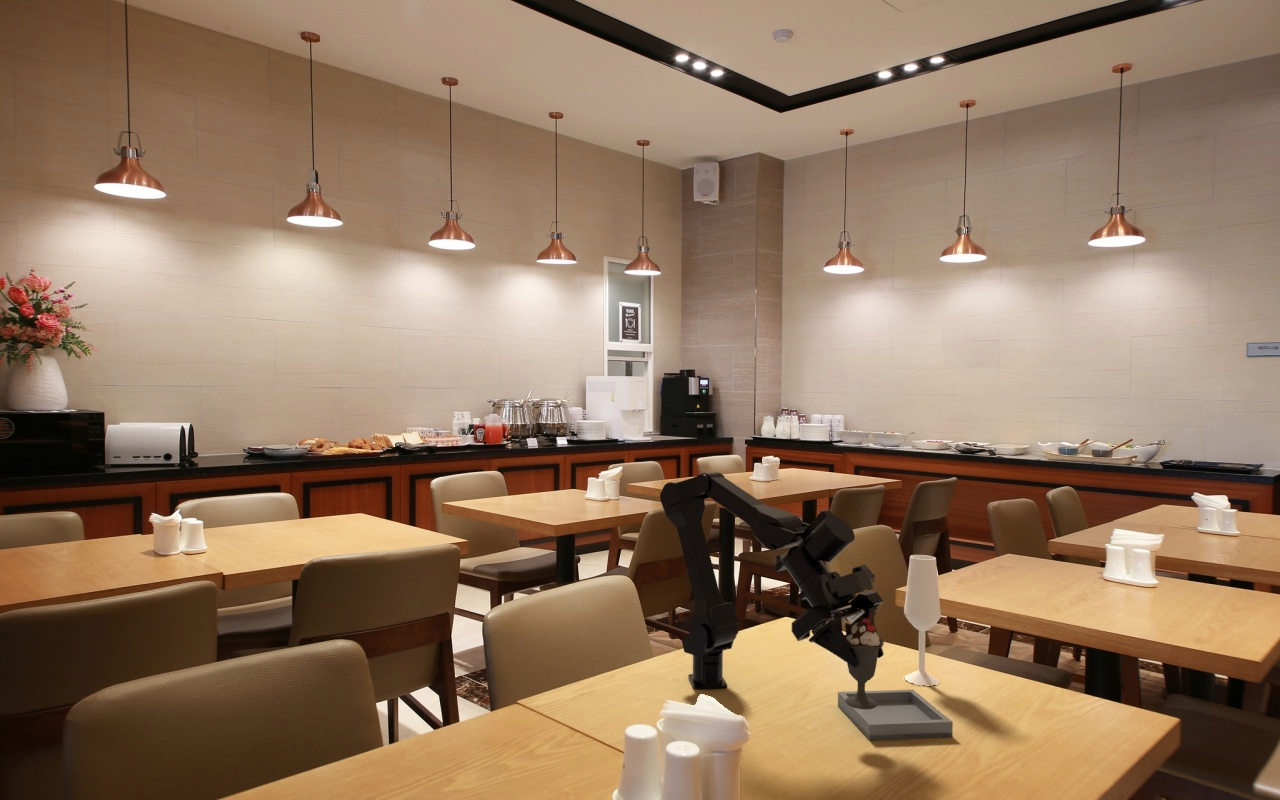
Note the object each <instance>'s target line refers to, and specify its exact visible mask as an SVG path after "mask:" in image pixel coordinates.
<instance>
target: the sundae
mask: <svg viewBox="0 0 1280 800" xmlns="http://www.w3.org/2000/svg"><path fill="white" fill-rule="evenodd" d="M877 613H878V612H877V611H876V612H875V611H873V613H872V614H874V615H877ZM872 614H871V615H872ZM871 615H870V616H871ZM874 615H873V616H874ZM870 616H869V617H870ZM873 616H872V617H873ZM869 617H868V618H869ZM872 617H871V618H872ZM868 618H867V619H863V621H862V622H858V623H856V624H854V625H853V626H852V625H850V623H849V622H845V623H844V626H845V634H844V635H845V637H846V639H847V641H848V642H849V644H850V646H851V647H852V649H853V651H854V653H855V654H856V656H857V658H858V660H859V662H860V664H859V665H858V666H857V667H853V666H852V665H850V664H848V663H847V662H846V663H847V664H846V665H847V670H848V673H849V675H851V677H852V678H853V679H854V680H855V681H856V682H857V694H856V695H855V696H852V697H848V698H846V700H845V702H846V704H847V705H849V706H851V707H854V708H858V709H873V708H875V707H876V706H877V703H876V702H875V701H874V700H872V699H870V698H867V696H866V694H865V691H866V683H867V682H869V681H871V679H872V678H873V677H874V676H875V673H876V669H877V663H878V652H879V648H881V647H882V648H883V646H884V644H885V641H884V639H883V638H880V637H879V635H878V633H877V634H876V632H875V631H874V629H875V628H876V626H875V627H874V626H873V625H871V618H870V621H869V620H868Z"/></svg>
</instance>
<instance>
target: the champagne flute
mask: <svg viewBox="0 0 1280 800" xmlns="http://www.w3.org/2000/svg"><path fill="white" fill-rule="evenodd" d="M937 567H938V566H937V558H936V557H935V556H932V555H926V554H911V555H910V556H909V563H908V573H907V581H906V591H905V600H904V608H903V613H904V616H905V617H906V619H907V621H908V622H909V623H910V624H911V626H913V627H914V629H916V630H917V631H918V670H915V671H913V672H911V673H909V674H907V675H904V677H905V680H907V681H908V682H911V683H914V684H917V685H928V686H929V685H934V684H935V685H936V684H937V683H939V682H940V680H939V679H937V677H934V676H933V675H931V674H930V673H929V672H927V671H926V631H929V630H930V629H931V628H932V627H934V626H935V625H936V624H938V622H939V620H940V618H941V616H942V614H941V603H940V593H939V592H940V590H939V578H938V569H937ZM905 680H904V681H905ZM938 680H939V681H938ZM908 682H907V683H908ZM917 685H916V686H917Z"/></svg>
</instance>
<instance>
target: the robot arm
mask: <svg viewBox="0 0 1280 800" xmlns="http://www.w3.org/2000/svg"><path fill="white" fill-rule="evenodd" d="M659 493H660V494H659V498H660V499H659V500H660V503H661V505H662V509H663V511H664V513H665V516H666V517H667V519H668V520H669V521H670V523H672V524H673V526H674V527H675V528H676V530H677V533H678V539H679V542H680V545H681V546H680V547H681V550H682V554H683V558H684V562H685V566H686V570H687V574H688V578H689V582H690V586H691V590H692V595H693V598H694V604H693V609H692V612H691V616H690V617H691V627H692V630H691V631H689V633H688V634H687V635H686V636H685V637H684V638H683V639H682V640H681V643H682V647H683V648H682V649H683V651H684V653H686V654H689V655H691V656H692V673H690V674H688V676H687V677H688V679H689V682H690V684H691V686H692V688H693V689H695V690H696V689H722V688H725V689H726V688H728V683H727V682H726V680H725V678H724V676H723V675H724V673H723V669H724V668H723V667H724V666H723V665H724V664H723V660H724V658H723V657H724V651H726V650H731V649H732V647H733V645H734V641H735V640H736V637H737V635H738V634H739V625H738V624H740V620H739V618H738V616H737V613H736V606H735V604H734V602H732V601H730V602H727V601H726V600H725V599H724V598H723V597H722V595H721V592H720V590H719V586H718V581H717V579H716V578H717V577H716V574H715V571H714V570H715V569H714V566H713V563H712V558H711V555H710V551H709V547H708V543H707V539H706V534H705V531H704V527H703V517H704V513H705V510H706V505H705V504H706V503H705V500H708V499H712V500H713V501H714V502H715V503H717V504H719V506H721V507H722V508H724V509H726V510H727V512H730V513H731V514H732V515H734V516H736V517H737V518H738V519H739V520H741V521H742V522H744V523H745V524H746V525H748V526H749V528H750V530H751V533H752V535H753V537H754V538H755V539H756V540H757V541H758V542H760V544H761V545H762V546H764V548H765V549H767V550H769V551H774V550H775V551H776V550H781V549H787V548H790V549H788V550H787V551H786V553H783V554H782V553H781V554H777V555H776V557H775V558H776V559H775V560H776V561H775V563H774V571H775V572H776V573H777V572H782V571H785V570H787V572H788V573H789V574H790V576H791V578H792V579H793V580H794V582H795V584H796V585H797V587H798V588H799V590H800V592H799V593H798V594H797V596H798V597H799V600H801V601H803V600H807V602H808V603H809V605H810V607H808V608H806V609H805V610H804V611H803V612H802V613H801V614H800V615H799V616H798V617H797V618H795V620H793V621H792V622H791V633H792V635H794V637H795V639H796V641H797V642H800V641H804V640H807V639H808V638H809V637H810V636H811V633H812V636H811V637H810V638H809V639H808V641H809V642H810V643H814V644H816V645H818V646H820V648H821V647H822V648H823V649H824V650H826V651H828V652H830V653H831V654H833V655H834V656H836V657H838V658H839V659H841V660H842V661H844V662H845V663H848V664H850V665H852V666H853V667H857V666H858V665H859V664H860V662H859V660H858V658H857V656H856V654H855V653H854V651H853V649H852V647H851V646H850V644H849V642H848V641H847V639H846V637H845V635H846V634H844V632H843V628H842V621H843V620H842V619H845V621H846V622H847V623H849V624H850V625H852V626H853V625H854V624H856V623H858V622H862V621H863V619H867V618H868V617H869V616H870V615H871V614H872V613H873V611H875V612H876V613H877V612H878V608H879V607H880V606H881V605H882V604H883V603H884V599H882V597H881V596H880V594H879V593H878V592H877V591H873V589H875V588H874V585H873V584H874V581H875V579H876V575H875V574H874V572H872V571H871V569H870V568H869V567H868V566H867V565H866V564H861V565H859V566H855V567H852V572H851V573H847V574H845V575H840V574H839V572H838V571H831V572H830V570H829V569H828V567H827V566H826V565H825V563H824V562H826V563H830V562H832V561H833V560H835V559H836V558H837V557H838V556H839V555H841V553H842V552H843V551H844V550H846V548H847V547H849V545H850V544H852V543H853V542H854V541H855V537H856V536H855V532H854V529H853V528H852V526H851V525H850V524H849V523H848V522H846V521H845V520H843V518H841V517H839V516H837V515H835V514H833V513H832V511H831V510H830V509H827V510H826V509H825V510H821V511H820V512H819V513H818V514H817V516H816V517H815V519H814V520H813V521H812V522H811V523H807V522H804V521H802V519H801V518H800V517H799V516H798V515H796V514H794V513H791V512H790V511H787V510H785V509H781V508H777V507H774V506H769V505H767V504H766V503H764V502H762V501H760V500H759V499H757V498H756V497H754V496H753V495H751V494H750V493H748V492H747V491H746V490H744V489H742V488H741V487H739V486H738V485H737V484H735V483H733V482H732V481H731V480H729V479H727V478H726V477H725V476H724V475H723V473H720V472H719V471H712V472H711V471H710V472H702V473H700V474H697V476H694V477H692V478H688V479H685V480H681V481H680V480H679V481H670V482H667V483H665V484H664V486H663V487H662V490H661V491H660V492H659ZM865 590H868V591H865ZM856 594H857V595H856ZM873 615H874V614H872V615H871V616H870V617H869V618H868V620H869V621H870V618H871V617H872V616H873ZM875 615H876V614H875ZM875 615H874V616H873V617H872V618H871V625H873V626H874V627H875V629H874V631H875V632H876V634H877V635H878V632H877V629H876V624H875ZM884 655H885V654H884V650H883V646H882V647H881V648H879V652H878V657H877V659H880V658H882V657H883V656H884Z"/></svg>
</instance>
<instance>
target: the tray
mask: <svg viewBox="0 0 1280 800" xmlns="http://www.w3.org/2000/svg"><path fill="white" fill-rule="evenodd" d="M856 694H857V691H856V690H854V691H837V707H838V708H839V709H840V710H841V712H843V714H844V715H846V717H847V718H848V719H849V721H851V722H852V723H853V724H854V726H856V728H857V729H858V730H859V731H860V732H861V733H862V734H863V735H864V736H865V738H866V739H867V740H868V739H869V741H888V740H891V739H892V740H914V739H915V740H916V739H937V738H939V739H940V738H941V739H943V738H953V728H954V727H953V726H954V724H953V723H954V722H953V721H952V720H951V719H950V718H949V717H947V716H946V715H945V714H943V713H942V712H941V711H940V710H939V709H937V707H935V706H934V705H933V704H932V703H930V702H929V701H928V700H927V699H926V698H924V697H923V696H922V695H921V694H919V693H918V692H916V691H915V689H893V690H892V689H890V690H884V689H883V690H865V694H866V696H867V698H870V699H872V700H874V701H875V702H876V703H877V706H876V707H875V708H873V709H858V708H854V707H851V706H849V705H847V704H846V702H845V700H846V698H848V697H852V696H855V695H856Z"/></svg>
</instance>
